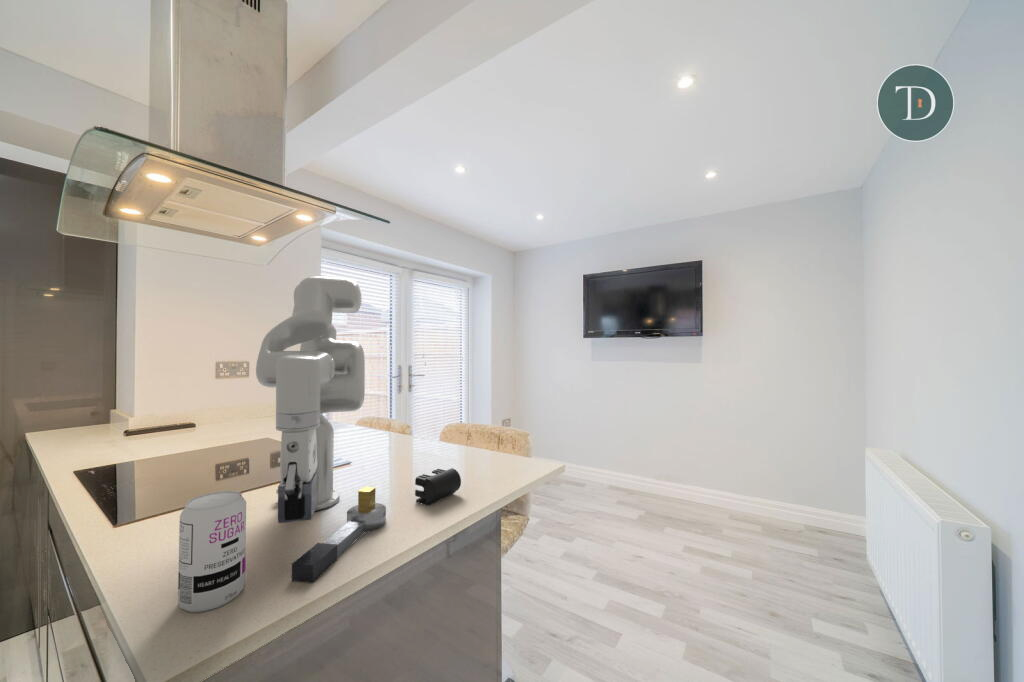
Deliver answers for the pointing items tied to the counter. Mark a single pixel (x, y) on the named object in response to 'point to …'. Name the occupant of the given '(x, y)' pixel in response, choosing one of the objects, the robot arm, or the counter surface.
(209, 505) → the supplement can
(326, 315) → the robot arm
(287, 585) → the counter surface
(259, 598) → the counter surface
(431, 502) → the end cap
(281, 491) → the socket
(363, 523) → the ratchet
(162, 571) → the counter surface
